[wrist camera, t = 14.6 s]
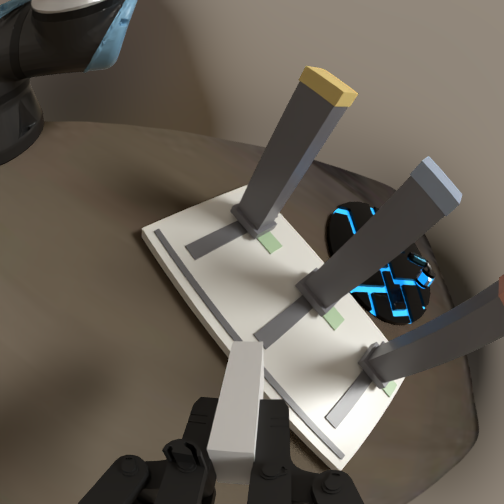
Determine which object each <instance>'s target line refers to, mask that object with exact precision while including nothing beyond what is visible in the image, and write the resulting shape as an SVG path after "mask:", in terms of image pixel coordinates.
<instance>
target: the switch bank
mask: <svg viewBox="0 0 504 504" xmlns="http://www.w3.org/2000/svg"><path fill="white" fill-rule="evenodd" d="M247 186H248V185H246V186H244V187H241V188H238V189H236V190H233V191H230V192H228V193H225V194H223V195H220V196H218V197H215V198H212V199H210V200H207V201H205V202H202V203H200V204H197V205H195V206H193V207H190V208H188V209H185V210H183V211H181V212H178V213H176V214H173V215H171V216H169V217H166V218H164V219H162V220H160V221H157V222H155V223H153V224H150V225H148V226H146V227H144V228H142V238H143V240H144V241H145V243H146V245H147V246H148V248H149V249H150V251H151V252H152V254H153V255H154V257H155V258H156V260H157V261H158V263H159V264H160V266H161V267H162V269H163V270H164V272H165V273H166V275H167V276H168V278H169V279H170V280H171V282H172V283H173V285H174V286H175V288H176V289H177V291H178V292H179V293H180V295H181V296H182V298H183V299H184V300H185V302H186V303H187V304H188V306H189V307H190V309H191V310H192V311H193V313H194V314H195V315H196V317H197V318H198V319H199V321H200V322H201V323H202V325H203V326H204V327H205V329H206V330H207V331H208V333H209V334H210V335H211V337H212V338H213V339H214V340H215V342H216V343H217V344H218V345H219V347H220V348H221V349H222V351H223V352H224V353H225V354H226V356H227V357H228V358H229V355H230V351H231V347H232V343H233V341H252V342H263V356H264V392H263V399H284V401H285V402H286V404H287V405H288V407H289V427H290V429H291V430H292V431H293V432H294V433H295V434H296V435H297V436H298V437H299V438H300V439H301V440H302V441H303V442H304V443H305V444H306V445H307V446H308V447H309V448H310V449H311V450H312V451H313V452H314V453H315V454H316V455H317V456H318V457H319V458H320V459H321V460H322V461H323V462H324V463H325V464H326V465H327V466H328V467H329V468H330V469H332V470H340V471H341V470H342V469H343V467H344V466H345V465H346V464H347V463H348V461H349V460H350V459H351V458H352V456H353V455H354V454H355V452H356V451H357V450H358V449H359V447H360V446H361V445H362V443H363V442H364V441H365V439H366V438H367V436H368V435H369V434H370V432H371V431H372V429H373V428H374V426H375V425H376V424H377V422H378V421H379V419H380V418H381V416H382V415H383V413H384V411H385V410H386V408H387V407H388V405H389V404H390V402H391V400H392V399H393V397H394V395H395V394H396V392H397V390H398V389H399V387H400V385H401V383H402V382H403V380H404V378H405V377H403V378H400V379H397V380H393V381H390V382H389V383H388V384H387V386H386V387H385V388H382V389H379V388H378V387H377V386H376V385H375V383H374V382H373V381H372V380H371V379H370V377H369V376H368V375H367V374H366V372H365V371H364V370H363V369H362V368H361V366H360V365H359V364H358V361H359V360H360V359H361V357H362V356H363V355H364V353H365V352H366V351H367V349H368V348H369V346H370V345H371V344H373V343H375V342H377V343H378V344H379V345H382V344H384V343H386V342H388V340H387V339H386V338H385V337H384V335H383V334H382V333H381V332H380V330H379V329H378V328H377V327H376V325H375V324H374V323H373V321H372V320H371V319H370V318H369V316H368V315H367V314H366V313H365V312H364V310H363V309H362V308H361V307H360V305H359V304H358V303H357V302H356V300H355V299H354V298H353V297H352V296H351V294H350V293H348V294H346V295H345V296H344V297H342V298H341V299H340V300H339V301H338V302H337V303H336V304H335V305H334V306H333V307H332V308H331V309H330V310H329V312H328V313H327V314H325V315H324V316H322V317H321V316H320V315H319V314H318V313H317V312H316V310H315V309H314V308H313V307H312V306H311V304H310V303H309V302H308V301H307V300H306V298H305V297H304V296H303V295H302V294H301V292H300V291H299V290H298V289H297V288H296V286H295V285H296V284H297V283H298V282H299V281H300V280H301V279H303V278H304V277H305V276H306V275H308V274H309V273H310V272H311V271H313V270H314V269H315V268H316V267H317V268H318V269H319V268H320V267H321V266H322V265H323V264H324V262H323V261H322V260H321V259H320V258H319V257H318V255H317V254H316V253H315V252H314V251H313V250H312V249H311V247H310V246H309V245H308V244H307V243H306V242H305V241H304V239H303V238H302V237H301V236H300V235H299V234H298V233H297V232H296V230H295V229H294V228H293V227H292V226H291V225H290V224H289V223H288V222H287V220H286V219H285V218H284V217H283V216H282V215H281V214H280V213H279V214H278V215H277V217H276V218H275V220H274V221H275V222H276V223H277V225H276V227H275V228H274V229H273V230H271V231H269V232H268V233H266V234H264V235H262V236H260V237H259V238H257V239H255V240H254V239H253V238H252V236H251V235H250V234H249V233H248V232H247V230H246V229H245V228H244V227H243V226H242V225H241V223H240V222H239V221H238V220H237V219H236V218H235V216H234V215H233V214H232V213H231V212H230V210H231V208H232V206H233V205H235V204H238V203H240V201H241V198H242V196H243V194H244V192H245V190H246V188H247Z"/></svg>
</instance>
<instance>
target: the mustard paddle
mask: <svg viewBox="0 0 504 504" xmlns="http://www.w3.org/2000/svg"><path fill="white" fill-rule="evenodd" d="M299 81H300V82H299V84H298V86H297V88H296V90H295V92H294V93H293V95H292V97H291V99H290V101H289V103H288V105H287V107H286V109H285V111H284V113H283V115H282V117H281V119H280V121H279V123H278V125H277V127H276V129H275V131H274V133H273V135H272V137H271V139H270V141H269V143H268V145H267V147H266V149H265V151H264V153H263V155H262V157H261V159H260V161H259V163H258V165H257V167H256V169H255V171H254V173H253V175H252V177H251V180H250V182H249V184H248V186H247V188H246V190H245V192H244V194H243V196H242V198H241V201H240V203H238V204H235V205H233V206H232V208H231V210H230V212H231V213H232V214H233V215H234V216H235V218H236V219H237V220H238V221H239V222H240V223H241V225H242V226H243V227H244V228H245V229H246V230H247V232H248V233H249V234H250V235H251V236H252V238H253V239H254V240H255V239H257V238H259V237H260V236H262V235H264V234H266V233H268V232H269V231H271V230H273V229H274V228H275V227H276V225H277V223H276V222H275V221H274V220H275V218H276V217H277V215H278V214H279V212H280V211H281V209H282V208H283V206H284V204H285V203H286V201H287V200H288V198H289V197H290V195H291V194H292V192H293V191H294V189H295V188H296V186H297V184H298V183H299V181H300V180H301V178H302V177H303V175H304V174H305V172H306V171H307V169H308V168H309V166H310V165H311V163H312V161H313V160H314V158H315V157H316V155H317V154H318V152H319V151H320V149H321V148H322V146H323V145H324V143H325V141H326V140H327V138H328V137H329V135H330V134H331V132H332V131H333V129H334V128H335V126H336V125H337V123H338V121H339V120H340V118H341V117H342V115H343V114H344V112H345V111H346V109H347V108H348V107H350V106H351V104H352V103H353V101H354V100H355V98H356V96H357V95H358V93H357V92H356V91H354V90H353V89H352V88H350V87H349V86H348V85H346V84H345V83H343V82H342V81H341V80H339V79H338V78H336V77H335V76H333V75H332V74H331V73H329V72H328V71H326V70H325V69H321V68H316V67H309V66H306V67H305V69H304V71H303V73H302V74H301V76H300V78H299Z"/></svg>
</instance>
